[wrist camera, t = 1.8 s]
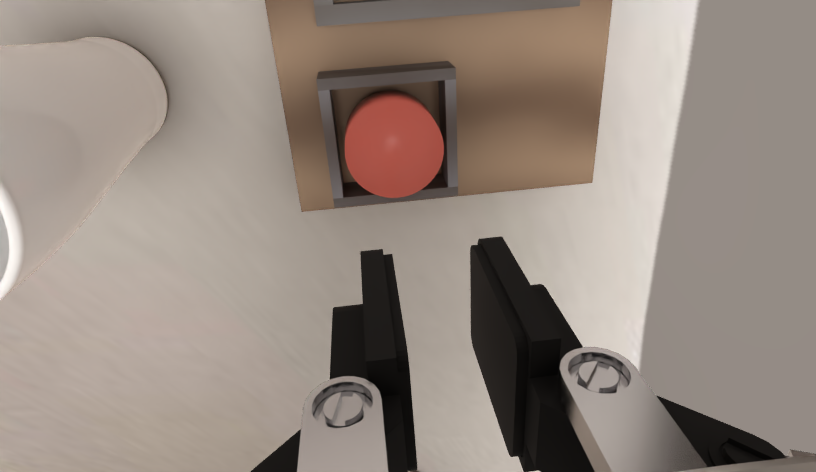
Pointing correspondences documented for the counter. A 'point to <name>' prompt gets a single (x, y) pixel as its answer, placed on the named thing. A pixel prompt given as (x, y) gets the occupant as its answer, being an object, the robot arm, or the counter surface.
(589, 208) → the counter surface
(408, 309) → the counter surface
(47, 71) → the drinking glass
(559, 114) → the brown flat wooden board
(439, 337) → the counter surface
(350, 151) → the button
